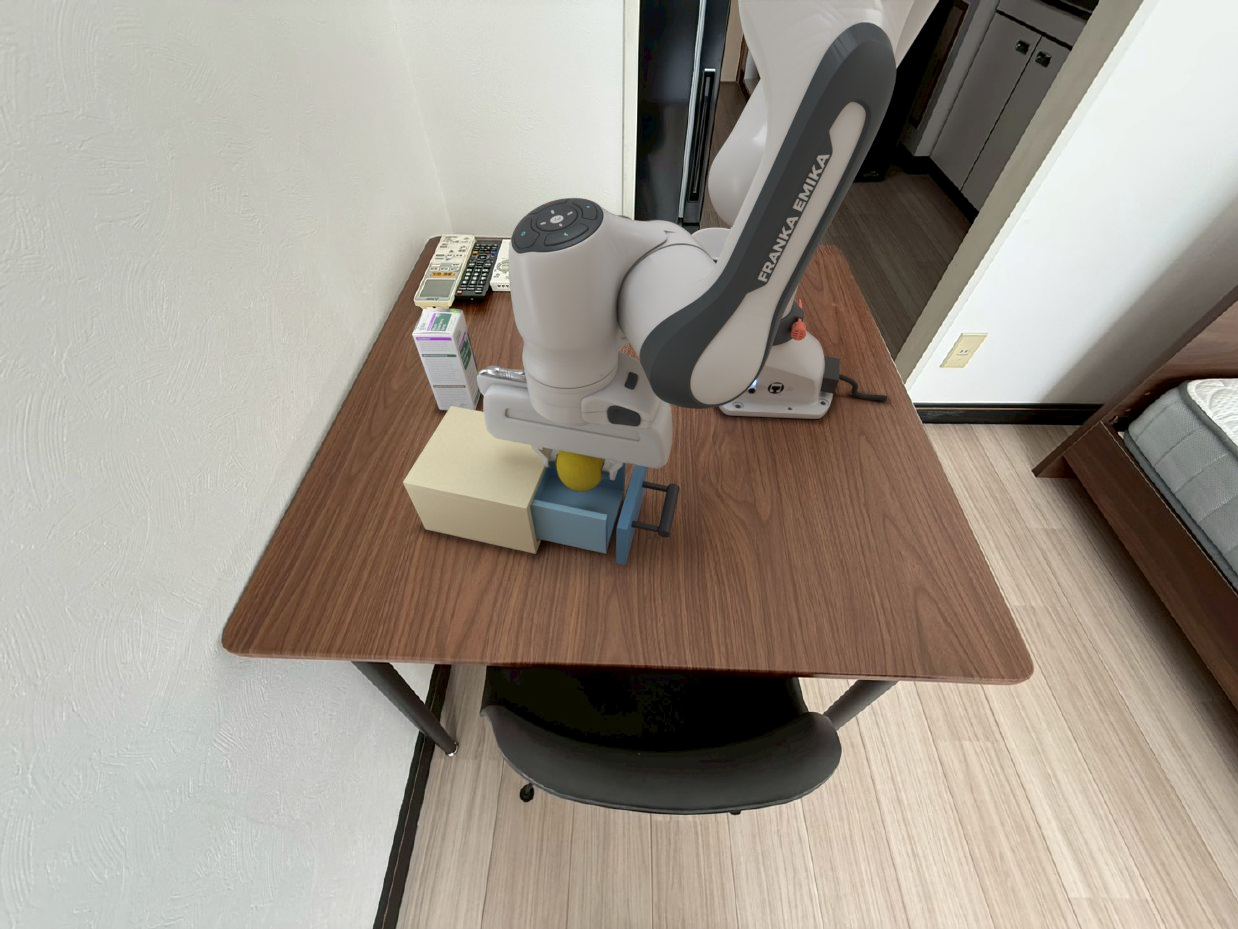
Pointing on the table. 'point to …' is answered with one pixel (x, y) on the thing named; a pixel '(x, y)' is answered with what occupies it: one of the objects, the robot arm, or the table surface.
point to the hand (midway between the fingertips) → (581, 469)
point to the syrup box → (448, 357)
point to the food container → (712, 240)
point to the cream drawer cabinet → (476, 483)
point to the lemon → (579, 471)
